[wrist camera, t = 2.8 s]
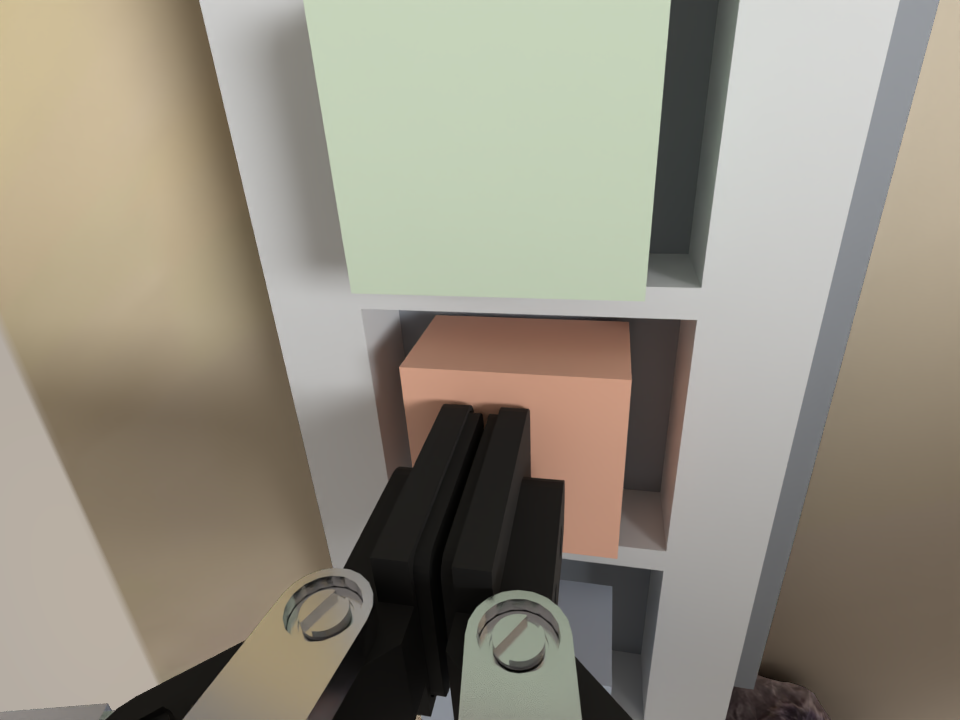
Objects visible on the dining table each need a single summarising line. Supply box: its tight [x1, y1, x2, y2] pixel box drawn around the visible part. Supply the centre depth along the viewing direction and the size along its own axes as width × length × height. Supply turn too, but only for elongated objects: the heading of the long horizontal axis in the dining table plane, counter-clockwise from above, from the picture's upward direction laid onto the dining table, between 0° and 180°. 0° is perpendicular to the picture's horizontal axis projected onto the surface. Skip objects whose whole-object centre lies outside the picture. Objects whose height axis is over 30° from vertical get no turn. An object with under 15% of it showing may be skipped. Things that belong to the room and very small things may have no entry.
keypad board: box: [199, 0, 939, 720], centre depth 12 cm, size 13×26×4 cm, turn 3°
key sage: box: [303, 0, 671, 301], centre depth 8 cm, size 4×4×2 cm
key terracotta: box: [399, 315, 632, 559], centre depth 12 cm, size 4×4×2 cm
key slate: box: [421, 580, 612, 720], centre depth 14 cm, size 4×4×2 cm
